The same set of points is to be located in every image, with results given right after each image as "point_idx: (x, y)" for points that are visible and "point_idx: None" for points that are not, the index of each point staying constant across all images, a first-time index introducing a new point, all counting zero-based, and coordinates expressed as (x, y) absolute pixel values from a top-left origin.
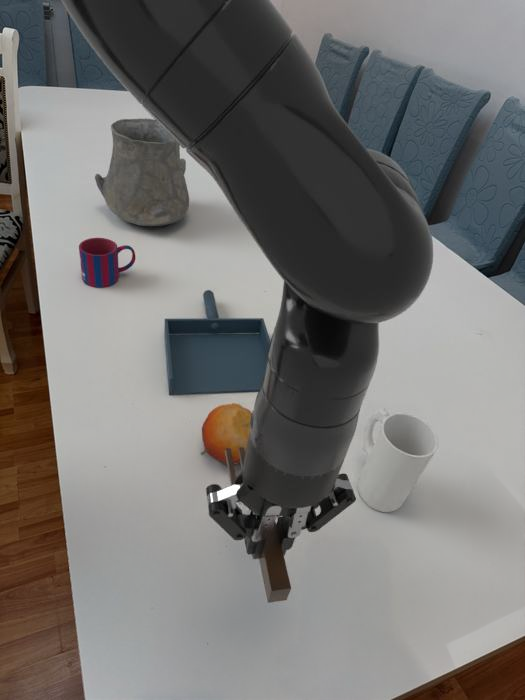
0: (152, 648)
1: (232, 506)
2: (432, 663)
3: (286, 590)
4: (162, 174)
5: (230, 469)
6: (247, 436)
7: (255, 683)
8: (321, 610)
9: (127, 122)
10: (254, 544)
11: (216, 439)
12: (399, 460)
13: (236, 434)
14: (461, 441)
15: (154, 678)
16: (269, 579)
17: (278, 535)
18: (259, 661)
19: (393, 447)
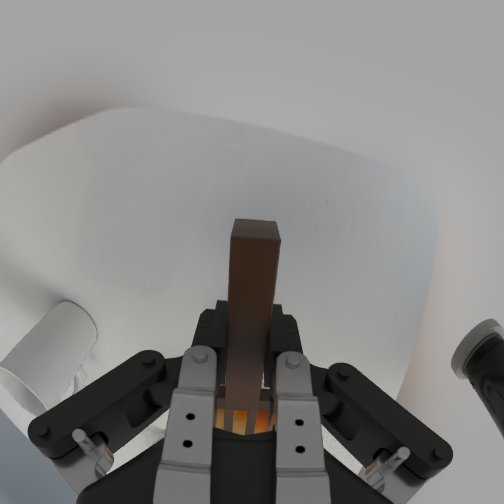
0: (386, 213)
1: (386, 466)
2: (66, 134)
3: (242, 233)
4: None
5: None
6: (222, 426)
7: (279, 142)
8: (166, 208)
9: None
10: (286, 338)
11: (263, 428)
12: (31, 372)
13: (237, 432)
14: (13, 340)
15: (390, 183)
16: (277, 265)
17: (227, 344)
18: (267, 165)
19: (35, 393)
